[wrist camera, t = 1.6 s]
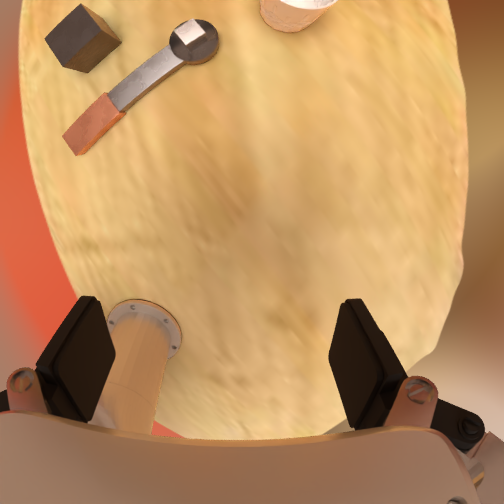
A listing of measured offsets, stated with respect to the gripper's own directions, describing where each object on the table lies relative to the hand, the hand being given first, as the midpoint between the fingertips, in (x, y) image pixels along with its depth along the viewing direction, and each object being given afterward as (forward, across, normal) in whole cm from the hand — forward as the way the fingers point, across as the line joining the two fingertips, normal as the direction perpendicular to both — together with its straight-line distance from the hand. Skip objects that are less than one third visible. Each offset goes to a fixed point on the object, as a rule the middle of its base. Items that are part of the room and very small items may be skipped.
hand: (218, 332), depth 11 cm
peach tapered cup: (+28, -6, -23) cm, 37 cm away
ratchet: (+28, +11, -13) cm, 33 cm away
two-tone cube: (+28, +19, -20) cm, 39 cm away
